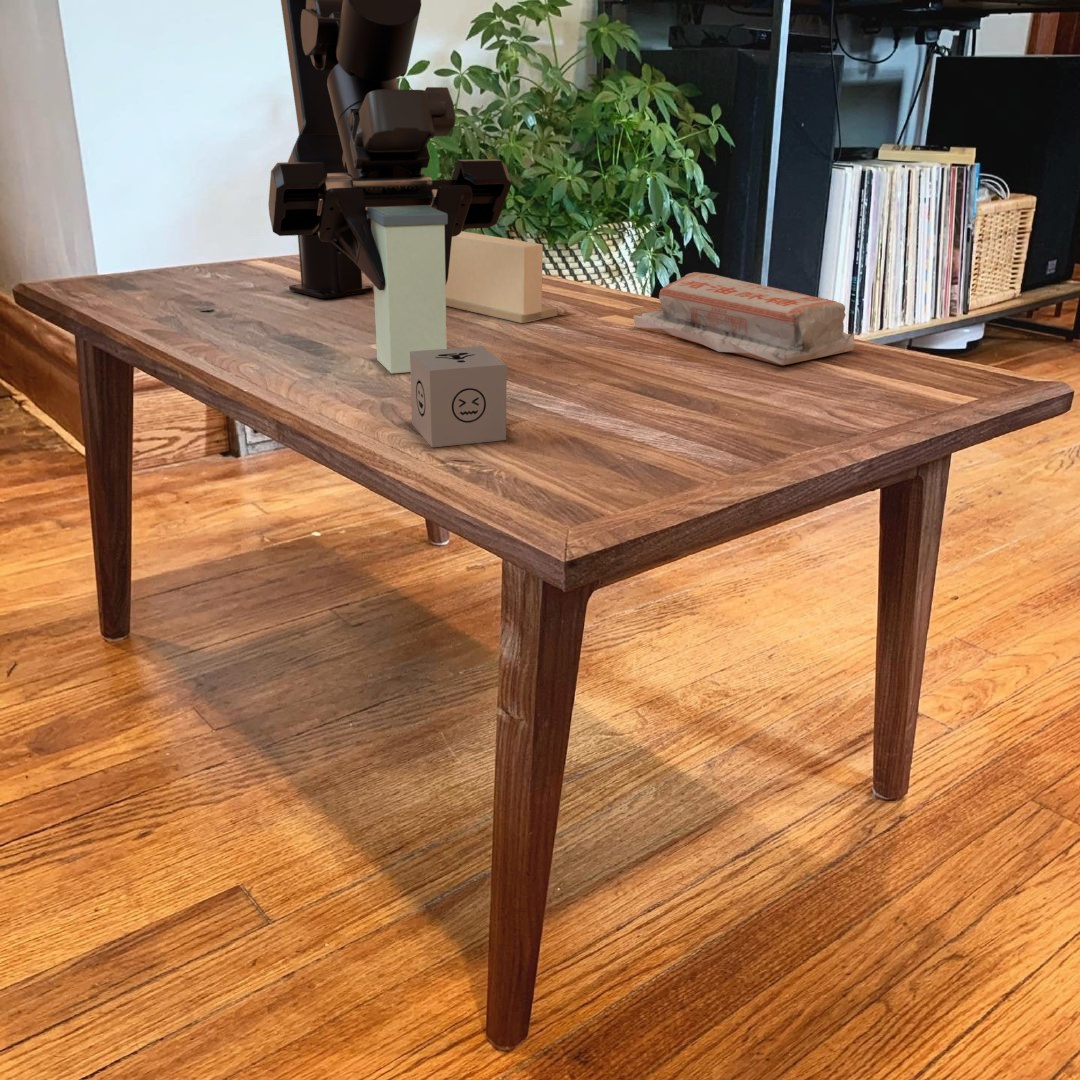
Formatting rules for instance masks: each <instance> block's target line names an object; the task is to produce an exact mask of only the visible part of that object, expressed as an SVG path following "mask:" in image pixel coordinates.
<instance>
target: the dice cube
mask: <svg viewBox="0 0 1080 1080" xmlns="http://www.w3.org/2000/svg"><path fill="white" fill-rule="evenodd" d="M507 366H508V365H507V364H506V363H505V362H504V361H502V360H501V359H500V358H499V357H497V356H496V355H495V354H493V353H492V352H491V351H489V350H488V349H487V348H485V347H484V346H469V347H467V346H466V347H455V348H453V347H452V348H447V349H438V350H424V351H410V372H409V373H410V398H411V399H410V400H411V424H412V426H413V427H414V429H415V430H416V431H417V433H419V434H420V436H421V437H422V438H423V439H424V440H425V442H426V443H427V444H428V445H429V446H430V448H433V449H434V448H442V447H450V446H460V445H470V444H479V443H481V444H482V443H490V442H500V441H507V376H508V375H507V369H508V368H507Z"/></svg>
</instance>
